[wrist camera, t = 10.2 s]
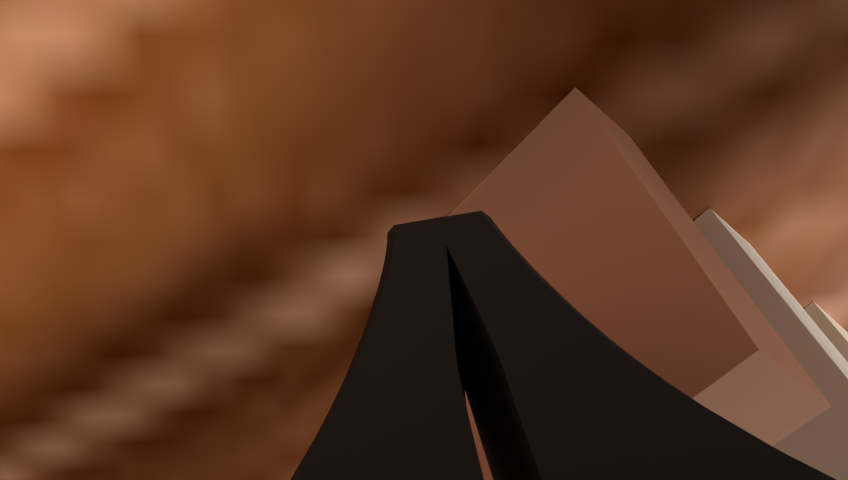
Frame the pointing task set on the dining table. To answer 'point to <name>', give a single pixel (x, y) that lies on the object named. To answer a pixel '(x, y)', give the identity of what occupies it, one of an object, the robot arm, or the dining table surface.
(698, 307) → the brown rectangular block
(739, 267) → the cream white flat block
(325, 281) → the dining table surface
